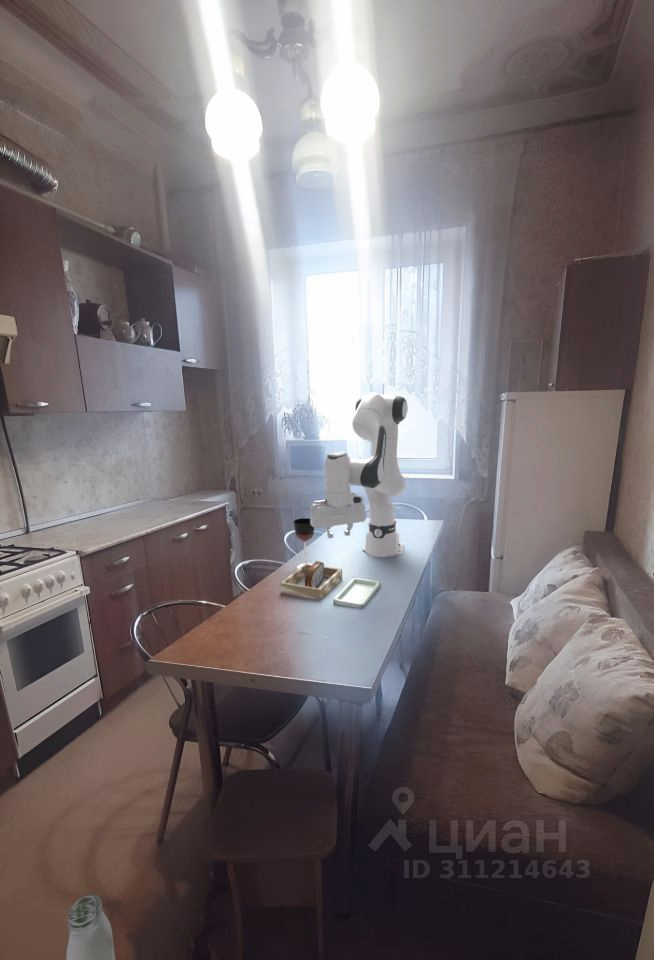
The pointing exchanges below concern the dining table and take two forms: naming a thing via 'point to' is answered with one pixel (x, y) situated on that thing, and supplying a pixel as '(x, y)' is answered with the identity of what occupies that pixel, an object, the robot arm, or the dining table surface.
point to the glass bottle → (89, 931)
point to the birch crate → (310, 592)
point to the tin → (314, 574)
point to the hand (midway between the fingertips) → (338, 536)
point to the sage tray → (357, 593)
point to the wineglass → (303, 533)
